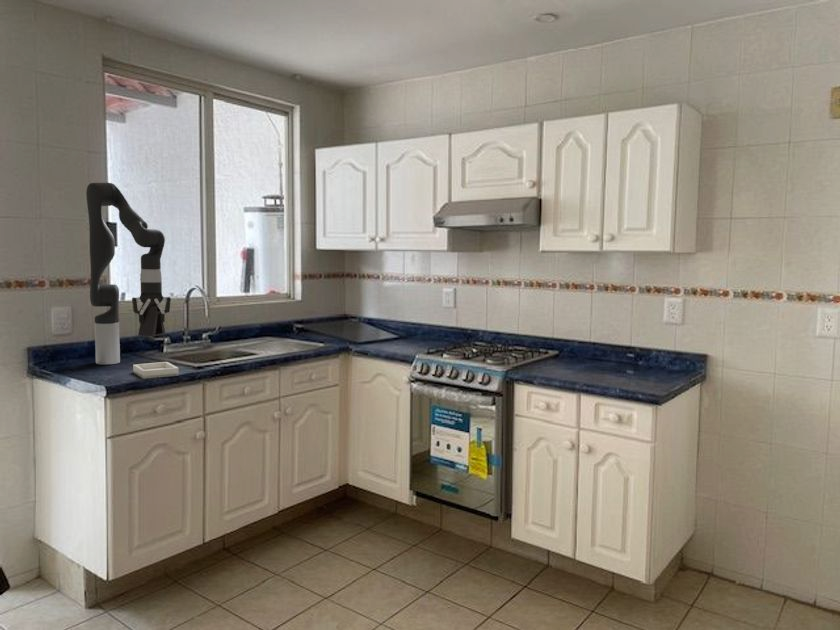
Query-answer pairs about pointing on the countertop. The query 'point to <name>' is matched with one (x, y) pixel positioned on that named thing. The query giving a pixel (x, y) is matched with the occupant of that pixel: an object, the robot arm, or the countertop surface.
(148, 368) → the tray
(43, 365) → the countertop surface
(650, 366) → the countertop surface
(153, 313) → the dark tent sign
